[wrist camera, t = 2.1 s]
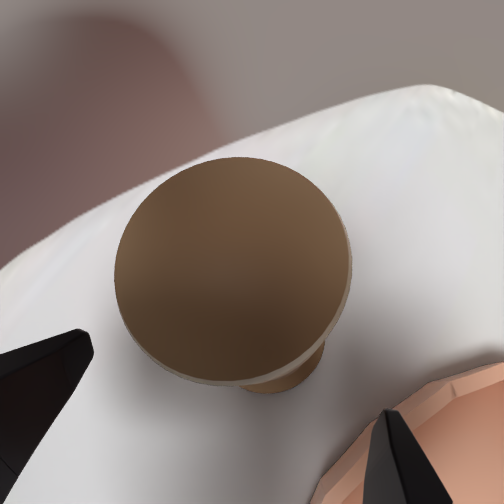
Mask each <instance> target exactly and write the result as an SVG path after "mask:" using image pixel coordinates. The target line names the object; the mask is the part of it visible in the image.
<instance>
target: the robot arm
mask: <svg viewBox="0 0 504 504" xmlns="http://www.w3.org/2000/svg"><path fill="white" fill-rule="evenodd" d="M93 356H94V350H93V346H92V342H91V339H90V335H89V333H88V332H86V331H84V330H81V329H74V330H71V331H68V332H66V333H63V334H60V335H57V336H54V337H51V338H48V339H45V340H42V341H39V342H36V343H33V344H30V345H27V346H24V347H21V348H18V349H15V350H12V351H9V352H6V353H3V354H0V504H3V503H4V501H5V499H6V497H7V496H8V494H9V492H10V491H11V489H12V487H13V485H14V484H15V482H16V480H17V479H18V476H19V475H20V473H21V472H22V470H23V469H24V467H25V465H26V464H27V462H28V461H29V459H30V457H31V456H32V454H33V453H34V451H35V449H36V448H37V446H38V445H39V443H40V442H41V440H42V439H43V437H44V435H45V434H46V432H47V431H48V429H49V428H50V426H51V425H52V423H53V422H54V420H55V419H56V417H57V416H58V414H59V413H60V411H61V410H62V408H63V407H64V406H65V404H66V403H67V401H68V400H69V398H70V397H71V395H72V394H73V392H74V390H75V389H76V387H77V385H78V383H79V382H80V380H81V378H82V376H83V374H84V373H85V371H86V369H87V367H88V365H89V364H90V362H91V360H92V358H93ZM362 504H453V500H452V499H451V497H450V495H449V493H448V492H447V490H446V488H445V486H444V485H443V483H442V481H441V480H440V478H439V476H438V475H437V473H436V471H435V469H434V468H433V466H432V464H431V463H430V461H429V459H428V458H427V456H426V454H425V453H424V451H423V449H422V448H421V446H420V444H419V443H418V441H417V440H416V438H415V436H414V435H413V433H412V431H411V430H410V428H409V427H408V425H407V423H406V422H405V420H404V419H403V417H402V415H401V414H400V412H399V411H398V410H394V409H384V410H383V411H382V412H381V414H380V416H379V417H378V419H377V421H376V423H375V424H374V426H373V429H372V432H371V439H370V446H369V453H368V459H367V465H366V471H365V478H364V489H363V503H362Z"/></svg>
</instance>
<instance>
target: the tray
mask: <svg viewBox="0 0 504 504" xmlns="http://www.w3.org/2000/svg"><path fill="white" fill-rule="evenodd" d="M392 409H394V410H398V411H399V412H400V414H401V415H402V417H403V419H404V420H405V422H406V423H407V425H408V427H409V428H410V430H411V431H412V433H413V435H414V436H415V438H416V440H417V441H418V443H419V444H420V446H421V448H422V449H423V451H424V453H425V454H426V456H427V458H428V459H429V461H430V463H431V464H432V466H433V468H434V469H435V471H436V473H437V475H438V476H439V478H440V480H441V481H442V483H443V485H444V486H445V488H446V490H447V492H448V493H449V495H450V497H451V499H452V500H453V504H504V362H499V363H494V364H489V365H483V366H481V367H478V368H475V369H472V370H469V371H466V372H463V373H459V374H456V375H453V376H450V377H446V378H443V379H440V380H436V381H432V382H428V383H427V384H426V385H425V386H423V387H422V388H421V389H419V390H418V391H416V392H415V393H414V394H412V395H411V396H410V397H408V398H407V399H405V400H404V401H403V402H401V403H400V404H398V405H397V406H395V407H394V408H392ZM377 419H378V418H377ZM377 419H375V420H374V421H372V422H371V423H369V425H368V426H367V427H366V428H365V429H364V431H363V432H362V433H361V434H360V436H359V437H358V438H357V439H356V440H355V441H354V443H353V444H352V445H351V446H350V447H349V448H348V450H347V451H346V452H345V453H344V454H343V455H342V456H341V457H340V458H339V460H338V461H337V462H336V463H335V464H334V465H333V466H332V467H331V468H330V469H329V470H328V471H327V472H326V473H325V474H324V475H323V476H322V477H321V478H320V481H319V483H318V486H317V488H316V490H315V493H314V495H313V497H312V499H311V502H310V504H362V503H363V489H364V478H365V471H366V465H367V459H368V453H369V446H370V439H371V432H372V429H373V426H374V424H375V423H376V421H377Z"/></svg>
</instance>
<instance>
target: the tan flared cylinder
mask: <svg viewBox="0 0 504 504" xmlns="http://www.w3.org/2000/svg"><path fill="white" fill-rule="evenodd" d="M351 277H352V255H351V247H350V242H349V238H348V235H347V231H346V228H345V226H344V224H343V222H342V220H341V217H340V215H339V214H338V212H337V211H336V209H335V207H334V206H333V204H332V203H331V202H330V201H329V199H328V198H327V197H326V196H325V195H324V193H323V192H322V191H321V190H320V189H318V188H317V187H316V186H315V185H314V184H313V183H312V182H311V181H309V180H308V179H307V178H305V177H304V176H302V175H301V174H299V173H297V172H296V171H294V170H292V169H290V168H288V167H286V166H283V165H280V164H277V163H275V162H271V161H267V160H263V159H256V158H248V157H232V158H222V159H216V160H211V161H207V162H204V163H201V164H198V165H194V166H192V167H190V168H188V169H185V170H183V171H181V172H179V173H178V174H176V175H174V176H172V177H171V178H169V179H168V180H166V181H165V182H164V183H162V184H161V185H159V186H158V187H157V188H156V189H155V190H154V191H153V192H152V193H151V194H149V195H148V197H147V198H146V199H145V200H144V201H143V202H142V203H141V204H140V206H139V207H138V208H137V210H136V211H135V213H134V214H133V215H132V217H131V219H130V221H129V223H128V224H127V226H126V228H125V230H124V233H123V235H122V238H121V240H120V243H119V247H118V251H117V255H116V261H115V272H114V282H115V292H116V299H117V303H118V307H119V311H120V314H121V316H122V319H123V321H124V324H125V326H126V328H127V329H128V331H129V333H130V335H131V336H132V338H133V340H134V341H135V342H136V343H137V345H138V346H139V347H140V348H141V350H142V351H143V352H144V353H145V354H146V355H147V356H149V357H150V358H151V359H152V360H153V361H154V362H155V363H157V364H158V365H160V366H161V367H163V368H164V369H165V370H167V371H169V372H171V373H173V374H175V375H177V376H179V377H181V378H184V379H187V380H190V381H193V382H196V383H201V384H207V385H213V386H239V387H241V388H243V389H246V390H248V391H252V392H256V393H264V394H266V393H278V392H282V391H285V390H288V389H291V388H293V387H295V386H296V385H298V384H300V383H301V382H302V381H304V380H305V379H306V378H307V377H308V376H309V375H310V374H311V373H312V372H313V370H314V369H315V368H316V366H317V365H318V363H319V361H320V359H321V356H322V353H323V349H324V345H325V339H326V338H327V336H328V335H329V333H330V332H331V330H332V329H333V327H334V326H335V324H336V323H337V321H338V319H339V317H340V315H341V313H342V311H343V309H344V306H345V303H346V300H347V297H348V294H349V290H350V284H351Z"/></svg>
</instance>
